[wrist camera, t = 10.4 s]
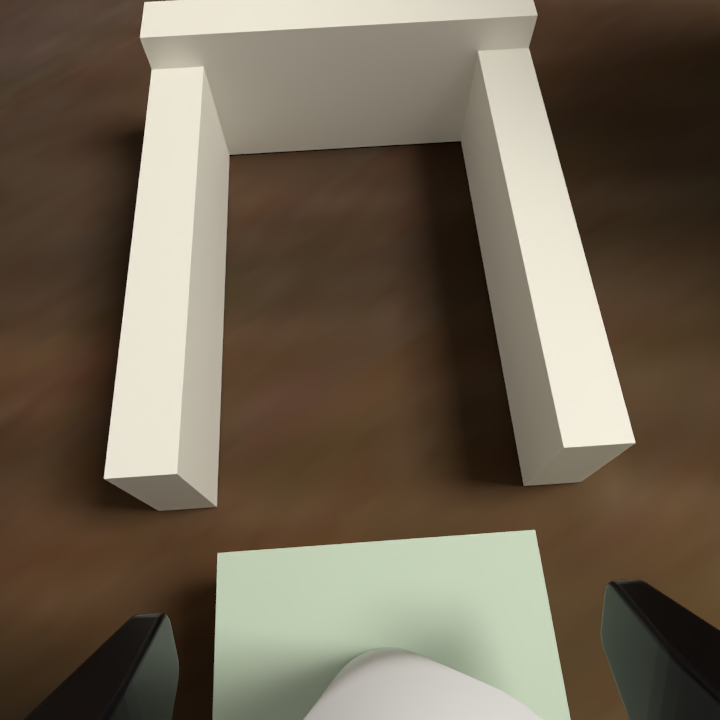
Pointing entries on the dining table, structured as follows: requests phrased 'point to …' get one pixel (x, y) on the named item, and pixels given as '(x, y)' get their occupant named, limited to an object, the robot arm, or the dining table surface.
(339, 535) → the dining table surface
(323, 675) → the handle block
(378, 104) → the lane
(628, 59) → the dining table surface
